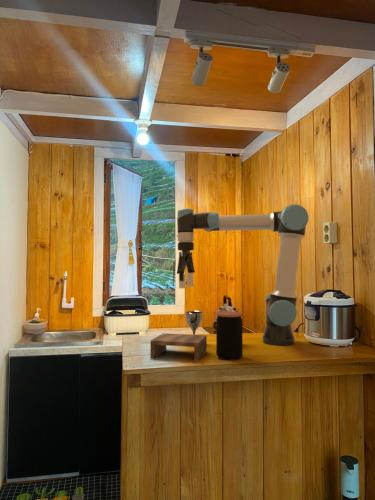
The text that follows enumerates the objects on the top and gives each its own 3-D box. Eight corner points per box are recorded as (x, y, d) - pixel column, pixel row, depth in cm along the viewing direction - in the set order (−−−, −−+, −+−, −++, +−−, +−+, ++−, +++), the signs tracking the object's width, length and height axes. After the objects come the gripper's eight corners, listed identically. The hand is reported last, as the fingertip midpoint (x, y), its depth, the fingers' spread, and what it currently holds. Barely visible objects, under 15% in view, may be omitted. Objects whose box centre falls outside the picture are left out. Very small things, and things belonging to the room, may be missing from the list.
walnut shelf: (206, 351, 161) (206, 335, 162) (198, 361, 146) (198, 343, 146) (162, 348, 166) (162, 333, 167) (150, 357, 151) (150, 340, 151)
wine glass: (202, 342, 181) (202, 311, 181) (201, 345, 173) (201, 313, 173) (186, 341, 182) (186, 310, 182) (184, 345, 174) (184, 313, 174)
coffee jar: (244, 355, 155) (244, 311, 156) (239, 361, 145) (239, 315, 146) (220, 353, 159) (219, 310, 159) (213, 359, 149) (213, 314, 149)
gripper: (185, 243, 187) (186, 285, 186) (169, 240, 163) (170, 289, 162) (199, 242, 185) (200, 285, 184) (185, 240, 161) (186, 289, 160)
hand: (186, 287), depth 173 cm, fingers open, 13 cm apart
